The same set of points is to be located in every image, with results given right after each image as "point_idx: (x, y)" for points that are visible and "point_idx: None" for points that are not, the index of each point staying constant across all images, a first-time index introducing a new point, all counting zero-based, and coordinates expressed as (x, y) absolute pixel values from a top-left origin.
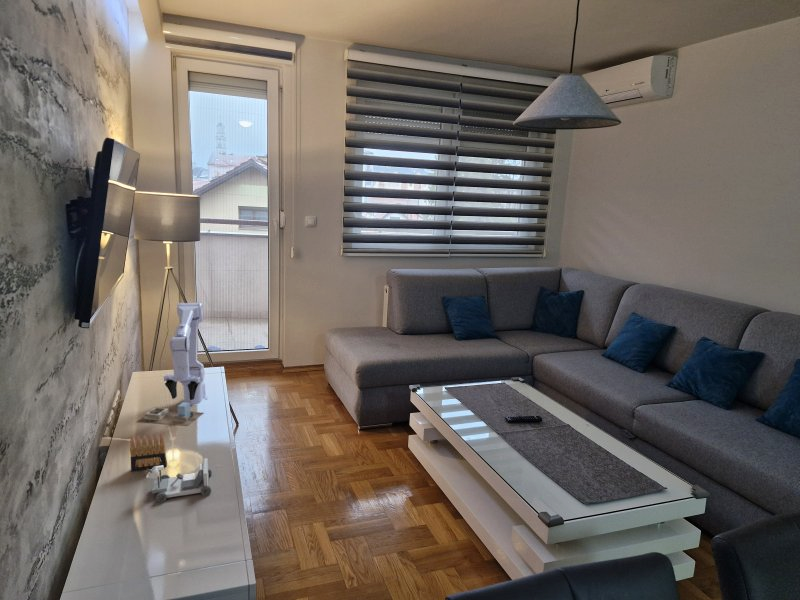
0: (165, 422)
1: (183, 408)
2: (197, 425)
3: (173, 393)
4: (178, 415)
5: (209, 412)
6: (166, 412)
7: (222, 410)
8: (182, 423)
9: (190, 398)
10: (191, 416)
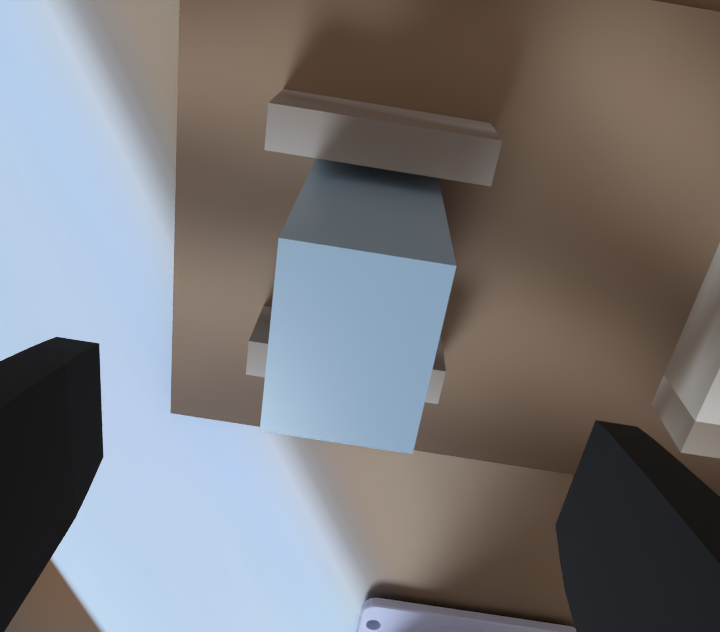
0: (625, 74)
1: (314, 224)
2: (73, 18)
3: (651, 550)
4: (436, 195)
5: (140, 448)
6: (690, 371)
7: None
8: (318, 33)
9: (50, 351)
10: None
